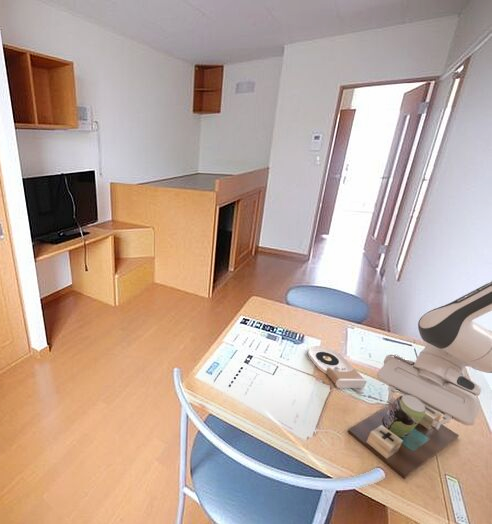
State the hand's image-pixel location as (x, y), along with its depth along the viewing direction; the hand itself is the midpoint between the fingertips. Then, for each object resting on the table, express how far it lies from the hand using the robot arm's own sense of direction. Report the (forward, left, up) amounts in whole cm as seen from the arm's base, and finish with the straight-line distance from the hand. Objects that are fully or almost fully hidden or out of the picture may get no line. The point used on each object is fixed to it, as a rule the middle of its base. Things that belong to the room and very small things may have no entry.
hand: (411, 415), depth 81 cm
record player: (+26, -9, -8) cm, 29 cm away
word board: (0, -1, -8) cm, 8 cm away
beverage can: (+1, +1, -7) cm, 7 cm away
